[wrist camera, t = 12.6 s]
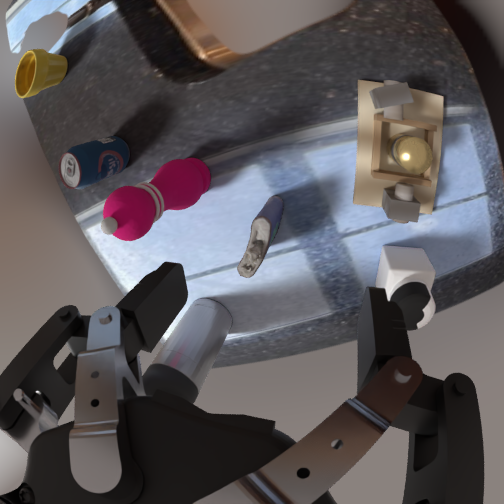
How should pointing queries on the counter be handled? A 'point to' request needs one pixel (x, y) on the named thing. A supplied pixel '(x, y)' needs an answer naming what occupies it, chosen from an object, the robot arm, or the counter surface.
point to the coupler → (409, 153)
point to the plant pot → (39, 72)
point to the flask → (261, 236)
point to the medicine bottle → (408, 283)
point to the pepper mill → (154, 198)
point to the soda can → (93, 162)
